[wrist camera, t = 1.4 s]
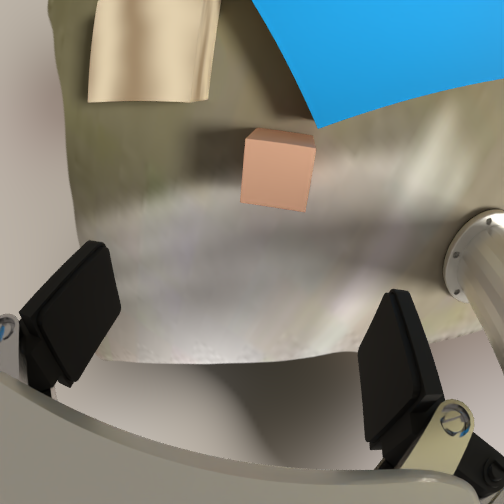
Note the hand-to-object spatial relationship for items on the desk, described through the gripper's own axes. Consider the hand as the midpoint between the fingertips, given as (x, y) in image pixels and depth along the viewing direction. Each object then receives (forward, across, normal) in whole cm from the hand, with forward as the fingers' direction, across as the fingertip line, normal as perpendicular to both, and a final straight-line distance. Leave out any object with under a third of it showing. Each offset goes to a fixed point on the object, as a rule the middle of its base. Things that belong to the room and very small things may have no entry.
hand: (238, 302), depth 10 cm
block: (+20, 0, 0) cm, 20 cm away
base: (+20, +12, -10) cm, 25 cm away
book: (+20, -9, -17) cm, 28 cm away
